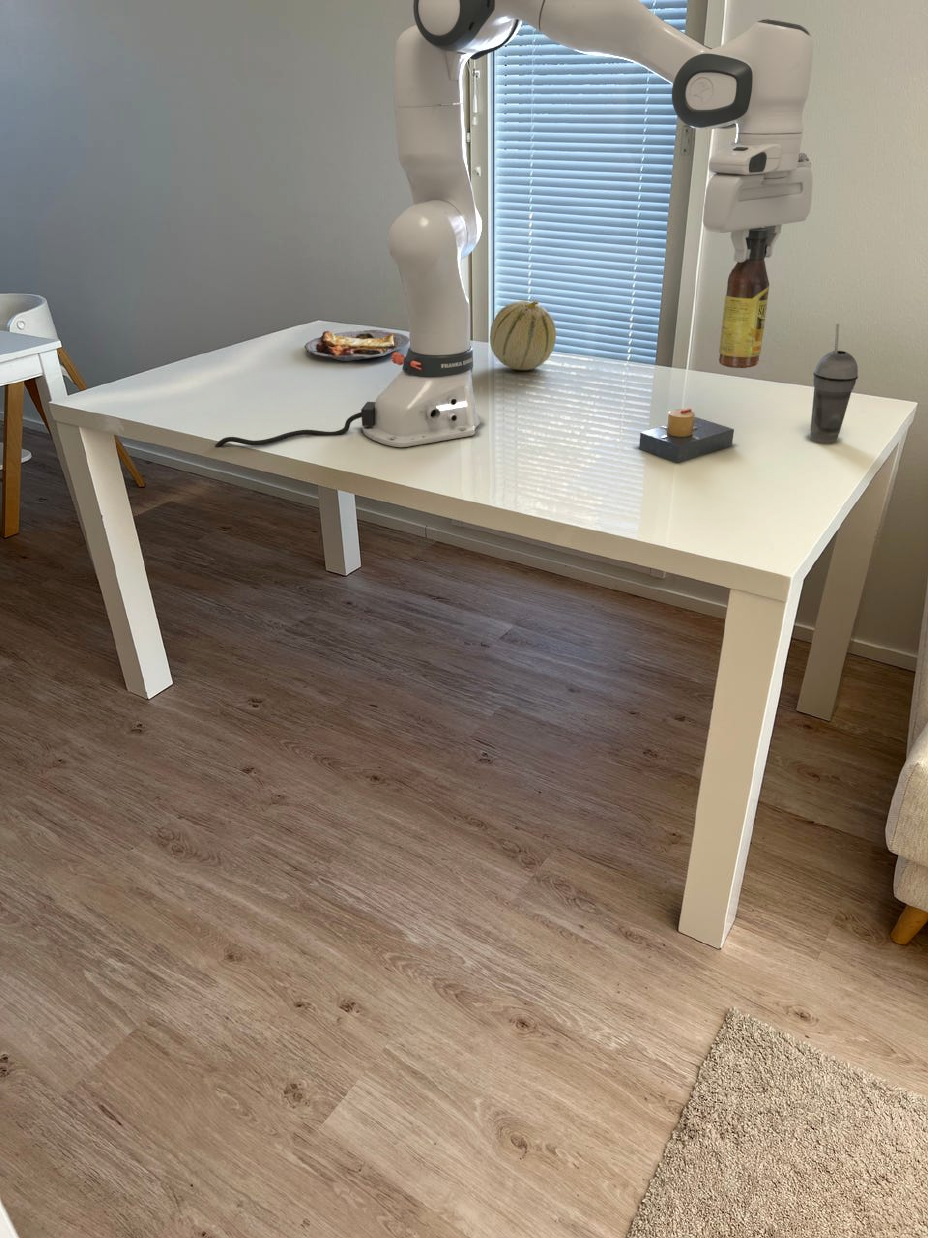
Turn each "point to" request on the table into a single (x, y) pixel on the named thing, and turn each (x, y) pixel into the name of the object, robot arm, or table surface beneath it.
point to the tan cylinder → (680, 422)
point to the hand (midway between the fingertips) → (752, 259)
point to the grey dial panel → (686, 441)
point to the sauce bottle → (745, 306)
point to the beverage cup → (832, 393)
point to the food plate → (356, 344)
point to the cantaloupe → (523, 335)
